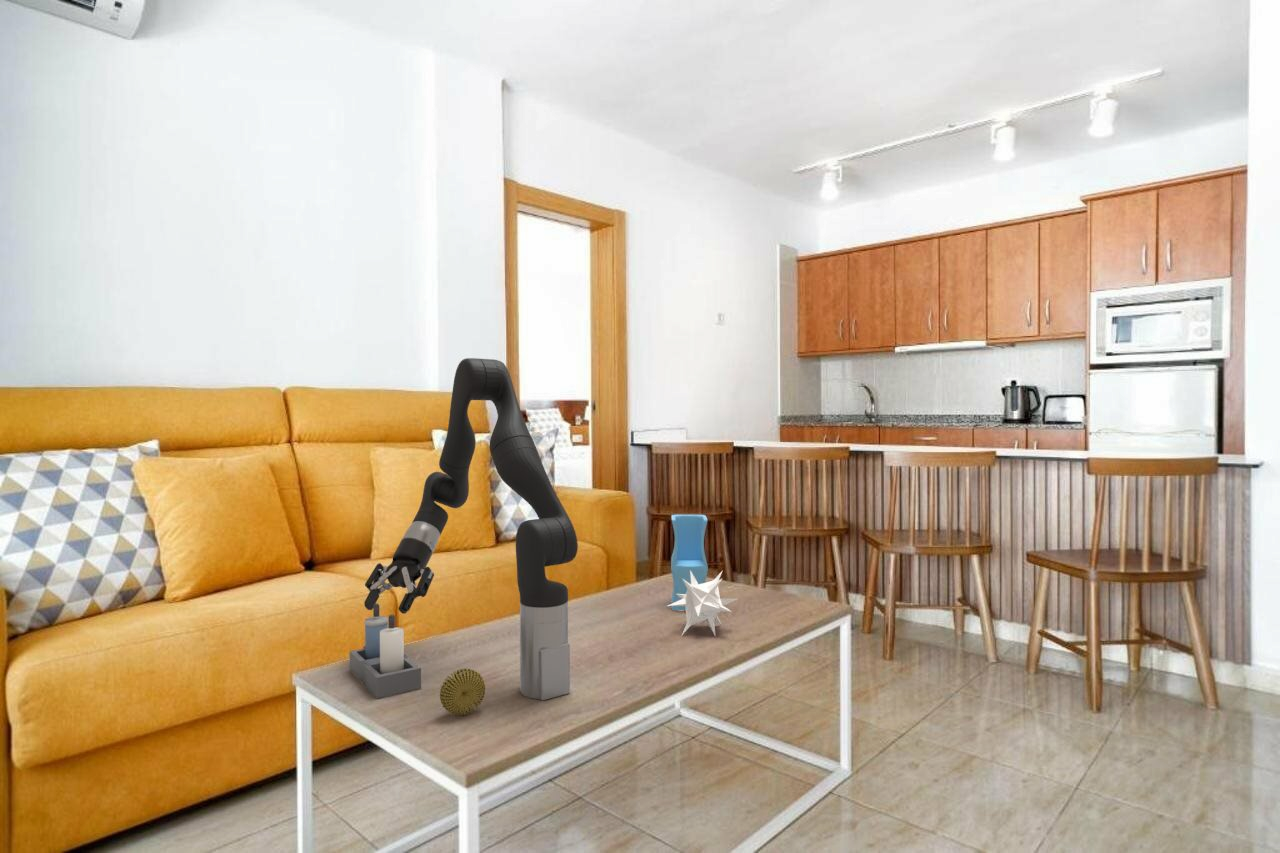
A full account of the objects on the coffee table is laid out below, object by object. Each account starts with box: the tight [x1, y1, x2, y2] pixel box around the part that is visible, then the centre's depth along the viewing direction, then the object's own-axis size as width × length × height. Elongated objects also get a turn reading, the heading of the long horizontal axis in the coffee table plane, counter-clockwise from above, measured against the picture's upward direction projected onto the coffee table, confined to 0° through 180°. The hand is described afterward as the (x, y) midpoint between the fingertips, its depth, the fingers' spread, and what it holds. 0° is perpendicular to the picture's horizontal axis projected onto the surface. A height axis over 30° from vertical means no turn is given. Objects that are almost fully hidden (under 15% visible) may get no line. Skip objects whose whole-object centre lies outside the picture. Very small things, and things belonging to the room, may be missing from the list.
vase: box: [670, 514, 709, 611], centre depth 197 cm, size 10×10×25 cm
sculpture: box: [439, 668, 486, 716], centre depth 126 cm, size 8×4×8 cm, turn 118°
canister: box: [364, 602, 389, 660], centre depth 147 cm, size 4×4×14 cm
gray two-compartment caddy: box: [349, 613, 422, 700], centre depth 143 cm, size 19×8×14 cm, turn 37°
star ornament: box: [667, 569, 738, 637], centre depth 175 cm, size 20×14×14 cm
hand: (384, 609), depth 149 cm, fingers open, 8 cm apart
